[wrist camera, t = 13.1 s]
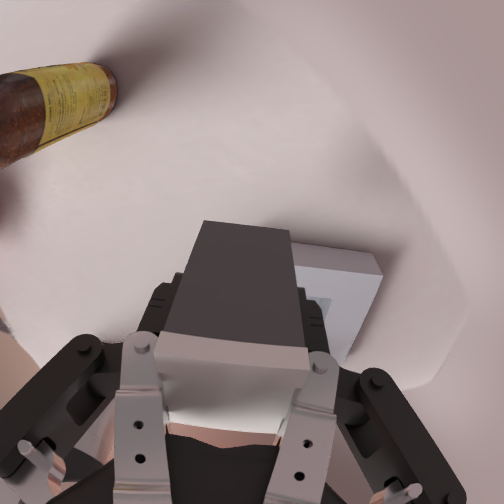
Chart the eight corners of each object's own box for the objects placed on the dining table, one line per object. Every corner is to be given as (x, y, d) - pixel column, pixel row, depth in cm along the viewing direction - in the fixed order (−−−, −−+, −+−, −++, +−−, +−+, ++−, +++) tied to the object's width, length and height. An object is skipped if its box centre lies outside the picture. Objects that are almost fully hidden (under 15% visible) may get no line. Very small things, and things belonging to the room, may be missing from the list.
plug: (200, 288, 16) (167, 421, 10) (202, 219, 14) (153, 352, 7) (276, 297, 16) (280, 433, 10) (290, 229, 14) (310, 369, 8)
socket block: (224, 354, 39) (221, 378, 36) (236, 235, 30) (232, 257, 26) (326, 363, 40) (329, 386, 36) (372, 253, 30) (383, 275, 27)
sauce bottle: (99, 49, 20) (-95, 68, 3) (132, 97, 23) (-60, 167, 6) (55, 94, 22) (-117, 161, 5) (85, 140, 25) (-80, 246, 8)
